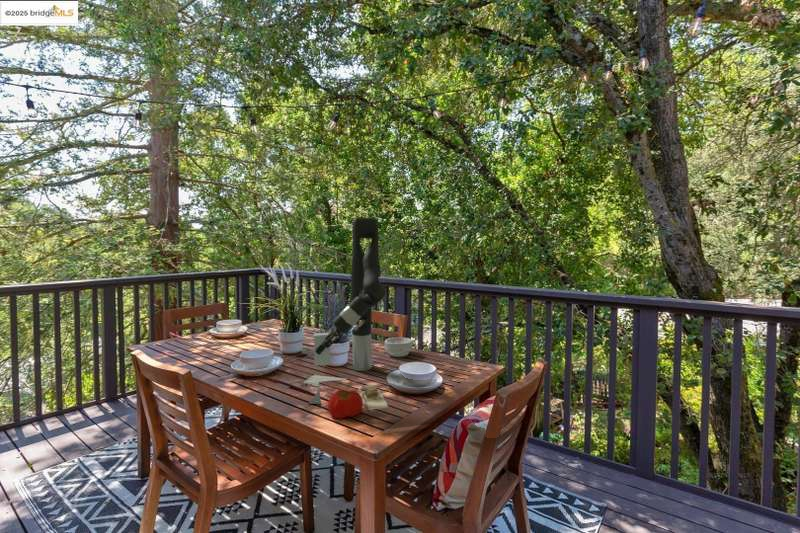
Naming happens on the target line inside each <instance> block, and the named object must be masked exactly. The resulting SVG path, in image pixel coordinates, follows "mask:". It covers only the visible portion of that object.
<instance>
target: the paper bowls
mask: <svg viewBox="0 0 800 533" xmlns="http://www.w3.org/2000/svg"><path fill="white" fill-rule="evenodd" d="M413 345H414V342H413V339H411V338H409V337H391V338H386V339H385V340H384V351H386V352H388V354H389V355H390V356H392V357H395V358H396V357H397V358H404V357H405V356H408V355H409V354H410V352H411V351H413V348H414V346H413Z"/></svg>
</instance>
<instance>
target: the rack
mask: <svg viewBox="0 0 800 533" xmlns="http://www.w3.org/2000/svg"><path fill="white" fill-rule="evenodd" d="M357 393H358V394H359V395H360V396H361V398H362V402H363V404H362V408H363V409H364V411H371V410H379V409H389V408H390V407H389V405H388V403H387V401H386V400H385V398H384V396H383V393H382V392H381V389H377V397H371V398H366V395H365V393H364V390H363V391H362V389H361V388H360V387H359V388H358V391H357Z"/></svg>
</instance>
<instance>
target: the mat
mask: <svg viewBox="0 0 800 533" xmlns="http://www.w3.org/2000/svg"><path fill="white" fill-rule="evenodd" d="M309 404H316V405H315V406H322V399H321V391H317V392H316V393H315V394H314V396H313V397H312V399H310V401H308V405H309Z"/></svg>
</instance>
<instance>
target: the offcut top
mask: <svg viewBox="0 0 800 533" xmlns="http://www.w3.org/2000/svg"><path fill="white" fill-rule="evenodd" d="M363 388H364V390H365V391H366V392H368V393H369V394H371V393H376V392H377V390H378V388H377V386H375V385H373V384H368V385H364V386H363ZM364 390H363V391H364Z"/></svg>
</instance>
